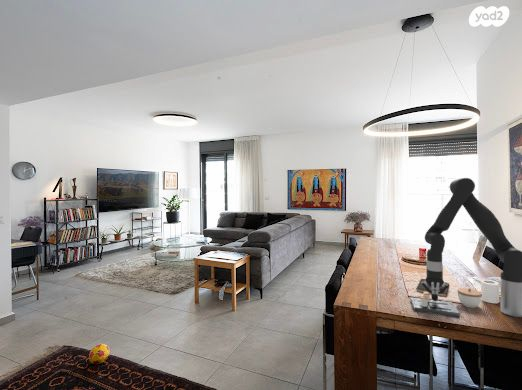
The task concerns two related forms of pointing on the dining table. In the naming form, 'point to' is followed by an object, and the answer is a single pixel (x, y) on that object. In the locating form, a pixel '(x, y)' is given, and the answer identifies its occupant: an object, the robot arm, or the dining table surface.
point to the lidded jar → (469, 297)
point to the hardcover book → (422, 288)
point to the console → (435, 307)
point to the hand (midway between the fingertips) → (434, 300)
